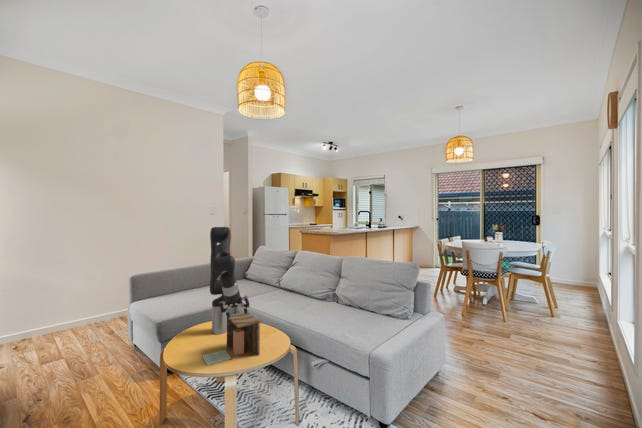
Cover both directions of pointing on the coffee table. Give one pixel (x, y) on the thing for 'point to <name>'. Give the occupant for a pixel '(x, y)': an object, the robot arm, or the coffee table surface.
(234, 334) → the terracotta block
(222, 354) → the sage mat
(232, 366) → the coffee table surface
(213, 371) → the coffee table surface
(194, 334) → the coffee table surface
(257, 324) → the walnut box
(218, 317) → the robot arm
